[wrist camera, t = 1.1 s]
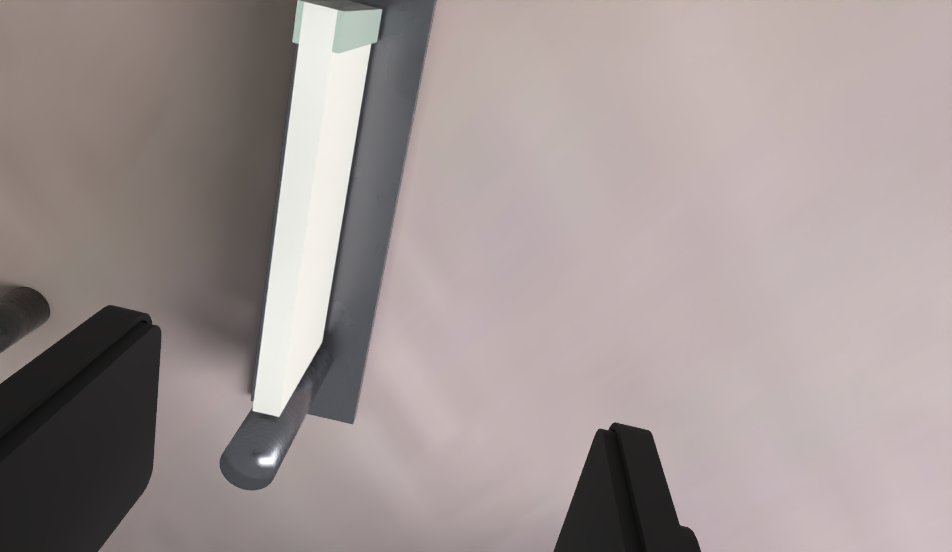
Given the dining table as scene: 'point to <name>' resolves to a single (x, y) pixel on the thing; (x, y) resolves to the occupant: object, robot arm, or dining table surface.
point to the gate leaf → (312, 188)
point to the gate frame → (357, 261)
